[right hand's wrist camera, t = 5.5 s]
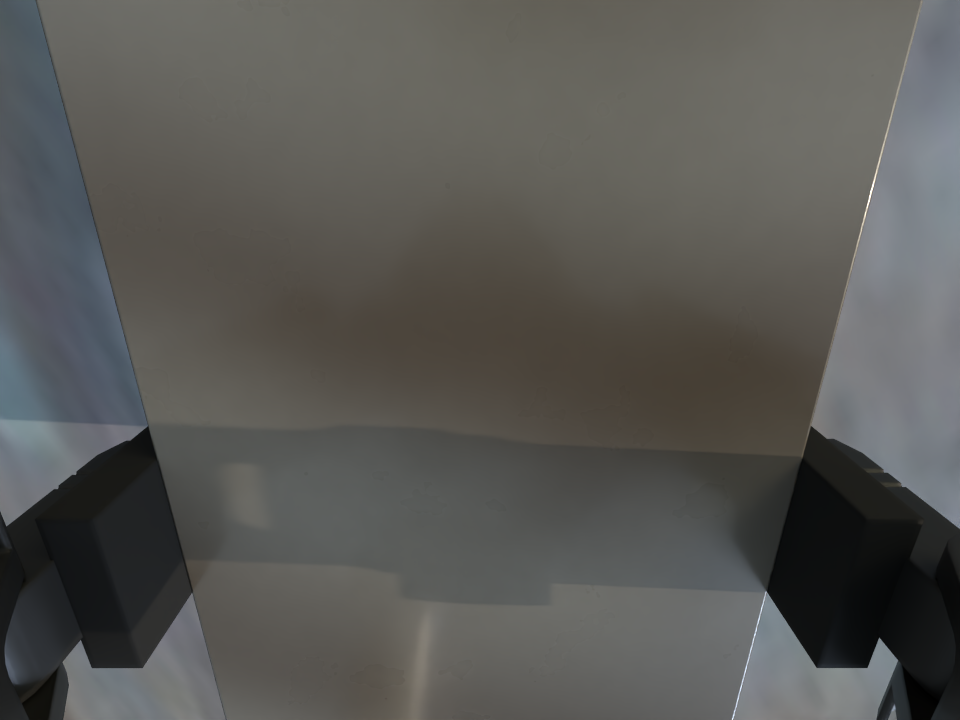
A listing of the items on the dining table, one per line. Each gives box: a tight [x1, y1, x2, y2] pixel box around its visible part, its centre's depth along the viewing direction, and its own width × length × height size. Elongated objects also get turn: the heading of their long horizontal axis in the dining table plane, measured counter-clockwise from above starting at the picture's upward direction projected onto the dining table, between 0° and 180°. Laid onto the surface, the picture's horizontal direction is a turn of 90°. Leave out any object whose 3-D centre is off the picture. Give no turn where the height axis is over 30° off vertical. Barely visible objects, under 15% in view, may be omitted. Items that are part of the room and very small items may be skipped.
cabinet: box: [36, 0, 923, 720], centre depth 12 cm, size 18×10×11 cm, turn 0°
